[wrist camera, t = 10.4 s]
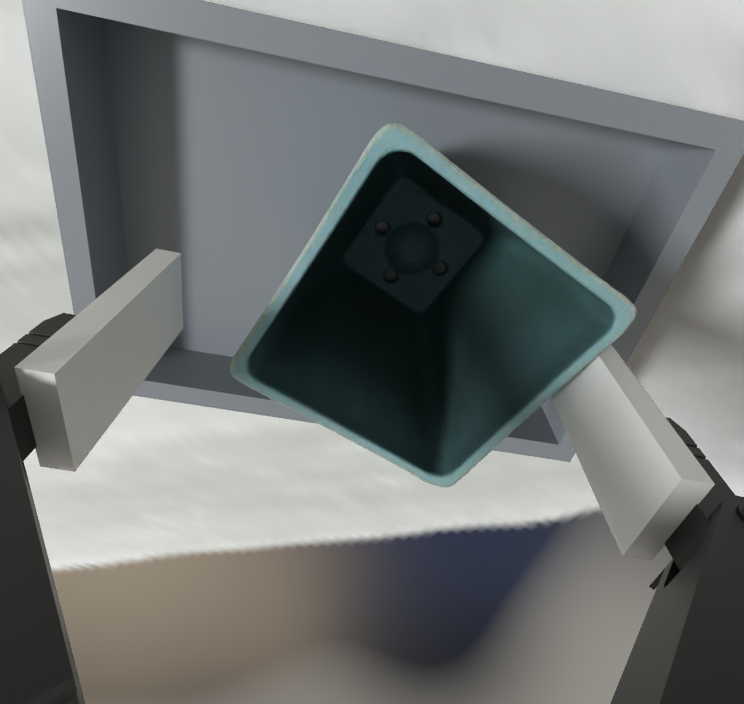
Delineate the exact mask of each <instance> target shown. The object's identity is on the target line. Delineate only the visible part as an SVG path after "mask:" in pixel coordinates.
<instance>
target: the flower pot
mask: <svg viewBox="0 0 744 704" xmlns="http://www.w3.org/2000/svg"><path fill="white" fill-rule="evenodd" d="M431 213H436V214H438V215H439V222H438V223H437V224H434V225H432V224H430V223H429V222H428V216H429V215H430V214H431ZM379 222H385V223H387V225H388V230H387V232H385V233H379V232H378V231H377V230H376V225H377V223H379ZM437 263H444V265H445V270H444V271H443V272H441V273H437V272H435V270H434V266H435V265H436V264H437ZM390 270H392V271H394V272H395V273H396V278H395V279H394V280H392V281H390V280H387V279H386V278H385V273H386V272H387V271H390ZM636 315H637V311H636V307H635V306H634V305H633V303H632V302H631V301H630V300H629V299H628V298H627V297H626V296H624V295H623V294H622V293H620V292H619V291H617V290H616V289H614V288H613V287H612V286H611V285H609V284H608V283H607V282H605V281H604V280H603V279H601V278H600V277H599V276H597V275H596V274H595V273H593V272H592V271H591V270H589V269H588V268H587V267H585V266H584V265H583V264H581V263H580V262H579V261H578V260H576V259H575V258H574V257H573V256H571V255H570V254H568V253H567V252H566V251H565V250H563V249H562V248H560V247H559V246H558V245H557V244H555V243H554V242H553V241H551V240H550V239H549V238H548V237H546V236H545V235H544V234H542V233H541V232H540V231H539V230H538V229H536V228H535V227H533V226H532V225H531V224H530V223H529V222H527V221H526V220H525V219H523V218H522V217H521V216H520V215H518V214H517V213H516V212H515V211H513V210H512V209H511V208H509V207H508V206H507V205H505V204H504V203H503V202H502V201H500V200H499V199H498V198H497V197H495V196H494V195H493V194H491V193H490V192H489V191H488V190H487V189H485V188H484V187H483V186H482V185H480V184H479V183H478V182H477V181H475V180H474V179H473V178H471V177H470V176H469V175H468V174H466V173H465V172H464V171H463V170H461V169H460V168H459V167H458V166H457V165H455V164H454V163H452V162H451V161H450V160H449V159H448V158H447V157H445V156H444V155H443V154H442V153H440V152H439V151H438V150H437V149H435V148H434V147H433V146H432V145H431V144H430V143H428V142H427V141H426V140H425V139H423V138H422V137H421V136H420V135H418V134H417V133H416V132H414V131H413V130H412V129H410V128H409V127H407V126H405V125H403V124H400V123H390V124H387V125H385V126H383V127H382V128H381V129H379V130H378V132H377V133H376V134H375V135H374V136H373V138H372V139H371V141H370V142H369V144H368V145H367V147H366V148H365V150H364V152H363V153H362V155H361V157H360V159H359V160H358V162H357V164H356V165H355V167H354V168H353V170H352V172H351V173H350V175H349V177H348V178H347V180H346V182H345V183H344V185H343V187H342V188H341V190H340V191H339V193H338V194H337V196H336V198H335V200H334V201H333V203H332V204H331V206H330V208H329V209H328V211H327V213H326V214H325V216H324V217H323V219H322V221H321V222H320V224H319V225H318V227H317V228H316V230H315V232H314V233H313V235H312V237H311V238H310V239H309V241H308V243H307V245H306V246H305V248H304V249H303V251H302V253H301V254H300V256H299V257H298V259H297V260H296V262H295V264H294V265H293V267H292V268H291V270H290V271H289V273H288V274H287V276H286V277H285V279H284V281H283V282H282V284H281V285H280V286H279V288H278V290H277V291H276V293H275V294H274V296H273V297H272V299H271V300H270V302H269V303H268V305H267V306H266V308H265V310H264V311H263V313H262V314H261V316H260V317H259V319H258V321H257V322H256V324H255V325H254V327H253V328H252V330H251V331H250V333H249V335H248V336H247V337H246V339H245V340H244V342H243V344H242V345H241V346H240V348H239V349H238V351H237V352H236V354H235V355H234V357H233V359H232V361H231V364H230V372H231V375H232V376H233V377H234V378H235V379H237V380H238V381H240V382H242V383H243V384H245V385H246V386H248V387H250V388H251V389H253V390H255V391H257V392H259V393H261V394H263V395H265V396H267V397H268V398H270V399H271V400H274V401H276V402H278V403H280V404H281V405H283V406H285V407H287V408H289V409H292V410H293V411H296V412H298V413H300V414H302V415H303V416H305V417H308V418H310V419H312V420H314V421H315V422H317V423H319V424H321V425H322V426H324V427H326V428H329V429H331V430H332V431H334V432H336V433H337V434H339V435H342V436H343V437H345V438H347V439H349V440H351V441H353V442H355V443H356V444H358V445H360V446H362V447H364V448H366V449H368V450H369V451H371V452H373V453H375V454H377V455H379V456H381V457H383V458H385V459H386V460H388V461H390V462H392V463H394V464H396V465H397V466H399V467H401V468H403V469H405V470H406V471H408V472H410V473H411V474H413V475H415V476H417V477H418V478H420V479H421V480H423V481H425V482H427V483H430V484H433V485H436V486H440V487H449V486H452V485H453V484H455V483H456V482H457V481H458V480H460V479H461V478H462V477H463V476H464V475H466V474H467V473H468V472H469V471H470V470H471V469H472V468H473V467H474V466H475V465H476V464H477V463H478V462H480V461H481V460H482V459H483V458H484V457H485V456H486V455H487V454H488V453H489V452H491V451H492V450H493V449H494V448H495V447H496V446H497V445H498V444H499V443H501V441H502V440H503V439H505V438H506V437H507V436H508V435H509V434H510V433H511V432H512V431H513V430H514V429H515V428H516V427H518V426H519V425H521V423H522V422H523V421H524V420H525V419H527V418H528V417H529V416H530V415H531V414H532V413H534V412H535V411H536V410H537V409H538V408H539V407H540V406H541V405H542V404H543V403H544V402H545V401H546V400H548V399H549V398H550V397H551V396H552V395H553V394H554V393H555V392H557V391H558V390H559V389H560V388H561V387H562V386H563V385H564V384H565V383H568V381H569V380H571V379H572V378H573V377H574V376H575V375H576V374H577V373H579V372H580V371H581V370H582V369H583V368H584V367H585V366H586V365H587V364H588V363H590V362H591V361H592V360H593V359H595V357H597V356H598V355H599V354H600V353H601V352H603V351H604V350H605V349H606V348H608V347H609V346H610V345H611V344H613V343H614V342H615V341H616V340H617V339H618V338H619V337H620V336H622V335H623V333H624V332H625V331H626V330H627V329H628V327H629V326H630V325H631V323H632V322H633V321H634V319H635V317H636Z"/></svg>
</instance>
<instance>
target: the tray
mask: <svg viewBox="0 0 744 704" xmlns="http://www.w3.org/2000/svg"><path fill="white" fill-rule="evenodd" d="M22 3H23V9H24V15H25V21H26V27H27V33H28V40H29V46H30V52H31V58H32V64H33V70H34V76H35V82H36V88H37V94H38V100H39V106H40V112H41V118H42V124H43V130H44V136H45V142H46V148H47V154H48V160H49V166H50V172H51V178H52V184H53V190H54V196H55V202H56V208H57V214H58V220H59V226H60V232H61V238H62V244H63V250H64V256H65V262H66V268H67V274H68V280H69V286H70V293H71V299H72V305H73V311H74V315H77V314H79V313H80V312H81V311H82V310H83V309H85V308H86V307H87V306H88V305H89V304H91V303H92V302H93V301H94V300H95V299H97V298H98V297H99V296H100V295H101V294H103V293H104V292H105V291H106V290H107V289H108V288H110V287H111V286H112V285H113V284H114V283H116V282H117V281H118V280H119V279H120V278H122V277H123V276H124V275H125V274H126V273H128V272H129V271H130V270H131V269H132V268H134V267H135V266H136V265H137V264H138V263H140V262H141V261H142V260H143V259H144V258H146V257H147V256H148V255H149V254H150V253H152V252H153V251H154V250H155V249H161V250H167V251H172V252H177V253H181V270H182V303H183V329H182V331H181V332H180V333H179V335H178V336H177V337H176V339H175V340H174V341H173V343H172V344H171V345H170V346H169V348H168V349H167V350H166V352H165V353H164V354H163V356H162V357H161V358H160V360H159V361H158V362H157V364H156V365H155V366H154V368H153V369H152V370H151V372H150V373H149V374H148V376H147V377H146V378H145V380H144V381H143V382H142V383H141V385H140V386H139V387H138V389H137V390H136V391H135V393H134V394H133V395H134V396H140V397H147V398H154V399H160V400H167V401H173V402H180V403H186V404H193V405H200V406H206V407H213V408H219V409H226V410H232V411H239V412H246V413H252V414H259V415H265V416H272V417H278V418H285V419H291V420H298V421H305V422H311V423H317V422H315V421H314V420H312V419H310V418H308V417H305V416H303V415H302V414H300V413H298V412H296V411H293V410H292V409H289V408H287V407H285V406H283V405H281V404H280V403H278V402H276V401H274V400H271V399H270V398H268V397H267V396H265V395H263V394H261V393H259V392H257V391H255V390H253V389H251V388H250V387H248V386H246V385H245V384H243V383H242V382H240V381H238V380H237V379H235V378H234V377H233V376H232V375H231V372H230V364H231V361H232V359H233V357H234V355H235V354H236V352H237V351H238V349H239V348H240V346H241V345H242V344H243V342H244V340H245V339H246V337H247V336H248V335H249V333H250V331H251V330H252V328H253V327H254V325H255V324H256V322H257V321H258V319H259V317H260V316H261V314H262V313H263V311H264V310H265V308H266V306H267V305H268V303H269V302H270V300H271V299H272V297H273V296H274V294H275V293H276V291H277V290H278V288H279V286H280V285H281V284H282V282H283V281H284V279H285V277H286V276H287V274H288V273H289V271H290V270H291V268H292V267H293V265H294V264H295V262H296V260H297V259H298V257H299V256H300V254H301V253H302V251H303V249H304V248H305V246H306V245H307V243H308V241H309V239H310V238H311V237H312V235H313V233H314V232H315V230H316V228H317V227H318V225H319V224H320V222H321V221H322V219H323V217H324V216H325V214H326V213H327V211H328V209H329V208H330V206H331V204H332V203H333V201H334V200H335V198H336V196H337V194H338V193H339V191H340V190H341V188H342V187H343V185H344V183H345V182H346V180H347V178H348V177H349V175H350V173H351V172H352V170H353V168H354V167H355V165H356V164H357V162H358V160H359V159H360V157H361V155H362V153H363V152H364V150H365V148H366V147H367V145H368V144H369V142H370V141H371V139H372V138H373V136H374V135H375V134H376V133H377V132H378V130H379V129H381V128H382V127H383V126H385V125H387V124H390V123H400V124H403V125H405V126H407V127H409V128H410V129H412V130H413V131H414V132H416V133H417V134H418V135H420V136H421V137H422V138H423V139H425V140H426V141H427V142H428V143H430V144H431V145H432V146H433V147H434V148H435V149H437V150H438V151H439V152H440V153H442V154H443V155H444V156H445V157H447V158H448V159H449V160H450V161H451V162H452V163H454V164H455V165H457V166H458V167H459V168H460V169H461V170H463V171H464V172H465V173H466V174H468V175H469V176H470V177H471V178H473V179H474V180H475V181H477V182H478V183H479V184H480V185H482V186H483V187H484V188H485V189H487V190H488V191H489V192H490V193H491V194H493V195H494V196H495V197H497V198H498V199H499V200H500V201H502V202H503V203H504V204H505V205H507V206H508V207H509V208H511V209H512V210H513V211H515V212H516V213H517V214H518V215H520V216H521V217H522V218H523V219H525V220H526V221H527V222H529V223H530V224H531V225H532V226H533V227H535V228H536V229H538V230H539V231H540V232H541V233H542V234H544V235H545V236H546V237H548V238H549V239H550V240H551V241H553V242H554V243H555V244H557V245H558V246H559V247H560V248H562V249H563V250H565V251H566V252H567V253H568V254H570V255H571V256H573V257H574V258H575V259H576V260H578V261H579V262H580V263H581V264H583V265H584V266H585V267H587V268H588V269H589V270H591V271H592V272H593V273H595V274H596V275H597V276H599V277H600V278H601V279H603V280H604V281H605V282H607V283H608V284H609V285H611V286H612V287H613V288H614V289H616V290H617V291H619V292H620V293H622V294H623V295H624V296H626V297H627V298H628V299H629V300H630V301H631V302H632V303H633V305H634V306H635V307H636V311H637V315H636V317H635V319H634V321H633V322H632V323H631V325H630V326H629V327H628V329H627V330H626V331H625V332H624V333H623V335H622V336H620V337H619V338H618V339H617V340H616V341H615V342H614V343H613V344H611V345H612V346H613V347H614V349H615V350H616V351H617V353H618V354H619V355H620V357H621V358H622V360H623V361H624V362H625V363H626V362H627V360H628V358H629V356H630V355H631V353H632V351H633V349H634V348H635V346H636V344H637V342H638V340H639V339H640V337H641V335H642V333H643V332H644V330H645V328H646V326H647V324H648V323H649V321H650V319H651V317H652V316H653V314H654V312H655V310H656V309H657V307H658V305H659V303H660V301H661V300H662V298H663V296H664V294H665V293H666V291H667V289H668V287H669V285H670V284H671V282H672V280H673V278H674V277H675V275H676V273H677V271H678V270H679V268H680V266H681V264H682V262H683V261H684V259H685V257H686V255H687V254H688V252H689V250H690V248H691V246H692V245H693V243H694V241H695V239H696V238H697V236H698V234H699V232H700V231H701V229H702V227H703V225H704V223H705V222H706V220H707V218H708V216H709V215H710V213H711V211H712V209H713V207H714V206H715V204H716V202H717V200H718V199H719V197H720V195H721V193H722V192H723V190H724V188H725V186H726V184H727V183H728V181H729V179H730V177H731V176H732V174H733V172H734V170H735V168H736V167H737V165H738V163H739V161H740V160H741V158H742V156H743V154H744V121H742V120H737V119H733V118H728V117H724V116H719V115H715V114H710V113H706V112H701V111H697V110H692V109H688V108H683V107H679V106H674V105H670V104H665V103H661V102H656V101H652V100H647V99H643V98H638V97H634V96H629V95H625V94H620V93H616V92H611V91H607V90H602V89H598V88H593V87H589V86H584V85H580V84H575V83H571V82H566V81H562V80H557V79H553V78H548V77H544V76H539V75H535V74H530V73H526V72H521V71H516V70H512V69H507V68H503V67H498V66H494V65H489V64H485V63H480V62H476V61H471V60H467V59H462V58H458V57H453V56H449V55H444V54H440V53H435V52H431V51H426V50H422V49H417V48H413V47H408V46H404V45H399V44H395V43H390V42H386V41H381V40H377V39H372V38H368V37H363V36H359V35H354V34H350V33H345V32H341V31H336V30H332V29H327V28H323V27H318V26H314V25H309V24H305V23H300V22H296V21H291V20H287V19H282V18H277V17H273V16H268V15H264V14H259V13H255V12H250V11H246V10H241V9H237V8H232V7H228V6H223V5H219V4H214V3H210V2H205V1H201V0H22ZM428 222H429V223H430V224H432V225H434V224H437V223H438V222H439V215H438V214H436V213H431V214H430V215H429V216H428ZM376 230H377V231H378V232H379V233H385V232H387V230H388V225H387V223H385V222H379V223H377V225H376ZM434 270H435V272H437V273H441V272H443V271H444V270H445V265H444V263H437V264H436V265H435V266H434ZM385 278H386V279H387V280H390V281H392V280H394V279H395V278H396V273H395V272H394V271H392V270H390V271H387V272H386V273H385ZM318 424H319V423H318ZM493 450H495V451H501V452H508V453H515V454H521V455H528V456H534V457H541V458H547V459H554V460H561V461H567V462H570V461H571V459H572V457H573V456H574V454H575V450H574V448H573V446H572V443H571V441H570V439H569V437H568V435H567V432H566V430H565V428H564V426H563V424H562V421H561V419H560V417H559V415H558V413H557V410H556V408H555V406H554V404H553V401H552V399H551V397H550V398H549V399H548V400H546V401H545V402H544V403H543V404H542V405H541V406H540V407H539V408H538V409H537V410H536V411H535V412H534V413H532V414H531V415H530V416H529V417H528V418H527V419H525V420H524V421H523V422H522V423H521V425H519V426H518V427H516V428H515V429H514V430H513V431H512V432H511V433H510V434H509V435H508V436H507V437H506V438H505V439H503V440H502V441H501V443H499V444H498V445H497V446H496V447H495V448H494V449H493Z"/></svg>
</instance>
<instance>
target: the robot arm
mask: <svg viewBox="0 0 744 704" xmlns="http://www.w3.org/2000/svg"><path fill="white" fill-rule="evenodd" d="M182 329H183V303H182V270H181V253H177V252H172V251H167V250H161V249H155V250H154V251H153V252H152V253H150V254H149V255H148V256H147V257H146V258H144V259H143V260H142V261H141V262H140V263H138V264H137V265H136V266H135V267H134V268H132V269H131V270H130V271H129V272H128V273H126V274H125V275H124V276H123V277H122V278H120V279H119V280H118V281H117V282H116V283H114V284H113V285H112V286H111V287H110V288H108V289H107V290H106V291H105V292H104V293H103V294H101V295H100V296H99V297H98V298H97V299H95V300H94V301H93V302H92V303H91V304H89V305H88V306H87V307H86V308H85V309H83V310H82V311H81V312H80V313H79V314H77V315H72V314H66V313H63V314H60V315H58V316H55V317H52V318H50V319H47V320H45V321H43V322H41V323H40V324H39V325H38V326H36V327H35V328H34V329H32V330H31V331H30V332H29V335H28V334H26V335H25V336H23V337H22V338H21V339H19V340H18V343H14V344H13V345H12V346H10V347H9V348H8V349H7V350H5V351H4V352H3V353H1V354H0V704H85V701H84V696H83V692H82V689H81V685H80V681H79V677H78V673H77V669H76V665H75V661H74V657H73V654H72V649H71V645H70V642H69V638H68V634H67V630H66V626H65V622H64V618H63V614H62V610H61V606H60V602H59V599H58V594H57V591H56V587H55V583H54V579H53V575H52V571H51V567H50V563H49V559H48V555H47V551H46V547H45V544H44V540H43V536H42V532H41V528H40V524H39V520H38V516H37V512H36V508H35V504H34V500H33V497H32V493H31V489H30V485H29V481H28V477H27V473H26V469H25V466H24V462H23V461H24V460H25V459H26V457H27V456H28V455H29V454H30V453H31V452H32V451H33V450H34V449H35V448H36V452H37V456H38V460H39V464H40V466H42V467H48V468H55V469H61V470H68V471H74V472H75V471H76V469H77V468H78V467H79V465H80V464H81V463H82V462H83V460H84V459H85V458H86V456H87V455H88V454H89V452H90V451H91V450H92V448H93V447H94V446H95V444H96V443H97V442H98V440H99V439H100V438H101V436H102V435H103V434H104V432H105V431H106V430H107V428H108V427H109V426H110V424H111V423H112V422H113V421H114V419H115V418H116V417H117V415H118V414H119V413H120V411H121V410H122V409H123V407H124V406H125V405H126V403H127V402H128V401H129V399H130V398H131V397H132V395H133V394H134V393H135V391H136V390H137V389H138V387H139V386H140V385H141V383H142V382H143V381H144V380H145V378H146V377H147V376H148V374H149V373H150V372H151V370H152V369H153V368H154V366H155V365H156V364H157V362H158V361H159V360H160V358H161V357H162V356H163V354H164V353H165V352H166V350H167V349H168V348H169V346H170V345H171V344H172V343H173V341H174V340H175V339H176V337H177V336H178V335H179V333H180V332H181V331H182ZM551 399H552V401H553V404H554V406H555V408H556V410H557V413H558V415H559V417H560V419H561V421H562V424H563V426H564V428H565V430H566V432H567V435H568V437H569V439H570V441H571V443H572V446H573V448H574V450H575V452H576V454H577V457H578V459H579V461H580V463H581V465H582V468H583V470H584V472H585V474H586V476H587V479H588V481H589V483H590V485H591V487H592V490H593V492H594V494H595V496H596V499H597V501H598V503H599V505H600V507H601V510H602V512H603V514H604V516H605V518H606V521H607V523H608V525H609V527H610V529H611V531H612V534H613V536H614V538H615V540H616V543H617V545H618V547H619V549H620V551H621V554H622V556H626V557H632V558H639V559H646V560H653V559H654V558H655V556H656V555H657V554H658V553H659V552H660V550H661V549H662V548H663V546H665V545H666V547H667V549H668V550H669V552H670V554H671V556H672V558H673V560H672V561H671V562H670V563H669V564H668V565H667V567H666V568H665V569H664V570H663V571H662V572H661V573H660V575H659V576H658V577H657V578H656V579H655V581H654V582H653V583H652V584H651V585H650V586H649V587H651V588H652V589H655V588H656V587H657V586H658V587H657V589H656V592H655V594H654V597H653V599H652V602H651V604H650V607H649V609H648V612H647V614H646V617H645V619H644V622H643V624H642V627H641V629H640V632H639V634H638V636H637V639H636V642H635V644H634V646H633V649H632V651H631V654H630V656H629V659H628V662H627V664H626V666H625V669H624V671H623V674H622V677H621V679H620V681H619V684H618V686H617V689H616V691H615V694H614V696H613V699H612V701H611V704H744V497H740V496H736V495H735V494H734V493H733V492H732V490H731V489H730V488H729V487H728V485H727V484H726V483H725V481H724V480H723V479H722V477H721V476H720V475H719V474H718V472H717V471H716V470H715V468H714V467H713V466H712V464H711V463H710V462H709V461H708V460H706V459H705V455H704V454H703V453H702V451H701V450H700V449H699V448H697V445H696V444H695V442H694V441H693V440H692V438H691V437H690V436H689V434H688V433H687V432H686V431H685V430H684V429H683V428H681V427H680V426H679V425H678V424H676V423H675V422H674V421H673V420H672V419H670V418H666V417H665V416H664V415H663V413H662V412H661V411H660V409H659V408H658V407H657V405H656V404H655V403H654V401H653V400H652V399H651V397H650V396H649V395H648V393H647V392H646V391H645V389H644V388H643V387H642V385H641V384H640V382H639V381H638V380H637V378H636V377H635V376H634V374H633V373H632V372H631V370H630V369H629V368H628V366H627V365H626V364H625V362H624V361H623V360H622V358H621V357H620V355H619V354H618V353H617V351H616V350H615V349H614V347H613V346H612V345H610V346H609V347H608V348H606V349H605V350H604V351H603V352H601V353H600V354H599V355H598V356H597V357H595V359H593V360H592V361H591V362H590V363H588V364H587V365H586V366H585V367H584V368H583V369H582V370H581V371H580V372H579V373H577V374H576V375H575V376H574V377H573V378H572V379H571V380H569V381H568V383H565V384H564V385H563V386H562V387H561V388H560V389H559V390H558V391H557V392H555V393H554V394H553V395H552V396H551Z"/></svg>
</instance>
